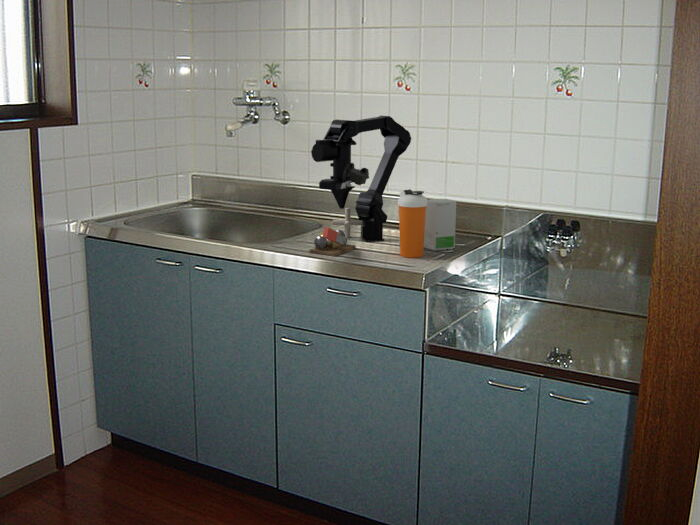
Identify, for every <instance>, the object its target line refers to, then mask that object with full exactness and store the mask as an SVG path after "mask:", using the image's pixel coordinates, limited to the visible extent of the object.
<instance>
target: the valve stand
mask: <svg viewBox="0 0 700 525" xmlns="http://www.w3.org/2000/svg"><path fill="white" fill-rule="evenodd" d="M335 231H336V232H338V234H340V235H342V236H344V237H345V231H343V230H341V229H338V230H335ZM322 235H323V231H321V232H319V233H318V236H316V237H315V239H314V241H313V243H314V248H310V249H309V250H308V252H310V253H309V254H313V253H316V255H322V256H330V257H335V256H336V257H337V256H339V255H341V254H344V253H347V252H350V251H353V250H355V249H356V245H354V244H346V245H341V244H339V243H337V242H334V241H330V240H328V239H326V238H324V237H322Z"/></svg>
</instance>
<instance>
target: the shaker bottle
mask: <svg viewBox="0 0 700 525" xmlns="http://www.w3.org/2000/svg"><path fill="white" fill-rule="evenodd" d="M423 193H425V192H424V191H423V190H412V189H411V188H410V189H405V190H401V191H400V192H399V198H398V199H397V207H398V224H399V225H398V226H399V256H400V257H402V258H406V259H407V258H408V259H409V258H410V259H411V258H412V259H417V258H422V257H424V250H425V247H424V236H425V221H426V207H427V197H426V196H424V195H423Z"/></svg>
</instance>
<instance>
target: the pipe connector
mask: <svg viewBox="0 0 700 525" xmlns="http://www.w3.org/2000/svg"><path fill="white" fill-rule="evenodd" d="M361 225H362V221H360V220H359V219H351V207H344V219H332V226H344V234H345V237H346V238H347V239H349V238H351V226H361Z"/></svg>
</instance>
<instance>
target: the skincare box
mask: <svg viewBox="0 0 700 525" xmlns="http://www.w3.org/2000/svg"><path fill="white" fill-rule="evenodd" d="M426 199H427V198H426ZM456 218H457V200H453V199H448V198H432V199H431V198H430V199H427V207H426V221H425V236H424V249H427V250H431V251H447V249H448V250H454V249H453V248H456V224H457V221H456V220H457V219H456Z"/></svg>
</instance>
